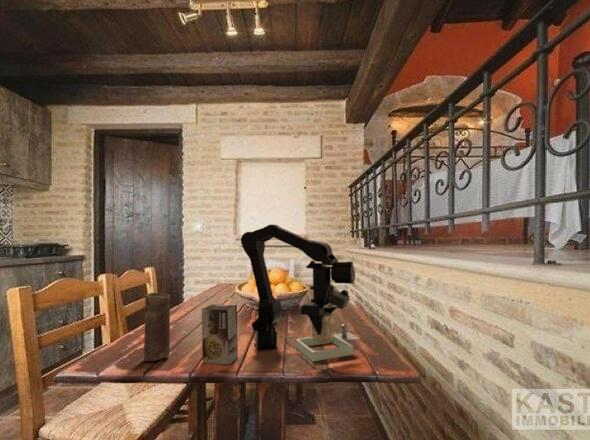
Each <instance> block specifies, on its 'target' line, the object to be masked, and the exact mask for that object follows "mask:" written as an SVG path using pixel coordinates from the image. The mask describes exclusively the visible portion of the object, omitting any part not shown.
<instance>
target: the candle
mask: <svg viewBox="0 0 590 440" xmlns="http://www.w3.org/2000/svg"><path fill="white" fill-rule="evenodd" d="M144 299H145V302H144V303H145V305H144V308H145V309H144V341H143V342H144V344H143V348H144V349H143V360H144V361H145V362H147V361H148V362H155V361H160V360H161V361H162V360H163V359H167V358H168V357H169V356H170V351H171V350H170V349H171V348H170V347H171V346H170V345H171V344H170V343H171V342H170V341H171V340H170V339H171V337H170V336H171V334H170V328H171V327H170V325H171V324H170V322H171V321H170V320H171V319H170V318H171V316H170V315H171V305H170V304H171V295H170V294H168V293H164V292H149V293H146V294H145V298H144Z"/></svg>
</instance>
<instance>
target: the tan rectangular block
mask: <svg viewBox="0 0 590 440" xmlns="http://www.w3.org/2000/svg"><path fill="white" fill-rule="evenodd" d="M334 331H335V330H334V313H327V314H326V315H325V316H324V317H323V321H322V331H321V334H320V335H319V334H317V332H316V330H315V328H314V326H313V324H312V323H311V332H312V336H311V337H312V341H315V342H321V343H325V344H329V343H328V342H330V341H331V340H333V339H334V334H335V333H334Z"/></svg>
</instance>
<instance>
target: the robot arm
mask: <svg viewBox="0 0 590 440" xmlns="http://www.w3.org/2000/svg"><path fill="white" fill-rule="evenodd" d="M273 238H274V239H276V240H279V241H281V242H283V243H286V244H288V245H289V246H291V247H294V248H296V249H298V250H299V251H301V252H303V253H304V254H305V255H306V256H307V257H308V258H310V259H311V260H310V262H309V263H308V264H307V265H306V266H305V268H306V269H312V285H311V286H310V290H312V298H311V299H310V302H306V303H304V304H302V305H301V306H300V315H305V316H307V317H308V319H309V320H310V322H311V325H312V324H313V326H314V328H315V330H316V332H317V334H319V335H320V334H321V331H322V321H323V317H324V316H325V315H326V314H327V313H332V314H334V312H335V311H336V310H338V309H340V310H343V309H344V308H347V306H348V303H349V301H351V299H350V295H349V291H348V290H346V289H343V290H341V291H337V290H335V286H334V284H331V283H332V281H333V282H334V283H335V284H346V285H348V284H350V285H351V284H352V285H353V284H355V280H356V271H355V267H354V262H353V261H339V260H338V259H337V257H336V256H335V255H334V253H333V250H332V246H331V245H330V244H328V243H326V242H322V241H317V240H312V239H308V238H306V237H303V236H301V235H299V234H298V233H294V232H292V231H290V230H288V229H285V228H283V227H281V226H280V225H278V224H268V225H267V226H264V227H262V228H259V229H256V230H254V231H246V232H244V233H243V234H242V236H241V238H240V243H241V246H242V248H243V249H242V250H243V251H244V252H245V254H246V255H247V257H248V258H249V260H250V265H251V270H252V272H253V273H252V274H253V278H254V282H255V287H256V290H257V295H258V305H257V318H256V319H255V320H254V322H253V323H252V324H251V327H252V331H253V332H254V335H255V338H254V339H255V342H254V343H253V346H255V348H256V349H257V350H258V351H265V350H271V349H277V348H278V332H277V331H276V326H277V325H278V322H280V320H281V318H282V316H283V311H284V309H283V308H282V303H281V299H276V297H275V296H274V295H273V294H274V293H273V292H272V286H271V282H270V279H269V278H270V277H269V274H268V269H267V265H266V261H265V255H264V254H265V251H266V250H265V247H266V244H265V243H266V242H268V241H270V240H271V239H273ZM331 280H332V281H331Z"/></svg>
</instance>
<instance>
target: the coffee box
mask: <svg viewBox="0 0 590 440" xmlns="http://www.w3.org/2000/svg"><path fill="white" fill-rule="evenodd" d="M201 337H202V338H201V342H202V343H201V345H202V347H201V348H202V351H201V352H202V354H201V355H202V363H206V364H220V365H230V364H232V363H233V362H234V361H235V360H237V359H238V358H239V356H238V355H239V354H238V349H239V347H238V305H237V304H236V305H235V304H210V305H208V306H205V307H203V308H201Z"/></svg>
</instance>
